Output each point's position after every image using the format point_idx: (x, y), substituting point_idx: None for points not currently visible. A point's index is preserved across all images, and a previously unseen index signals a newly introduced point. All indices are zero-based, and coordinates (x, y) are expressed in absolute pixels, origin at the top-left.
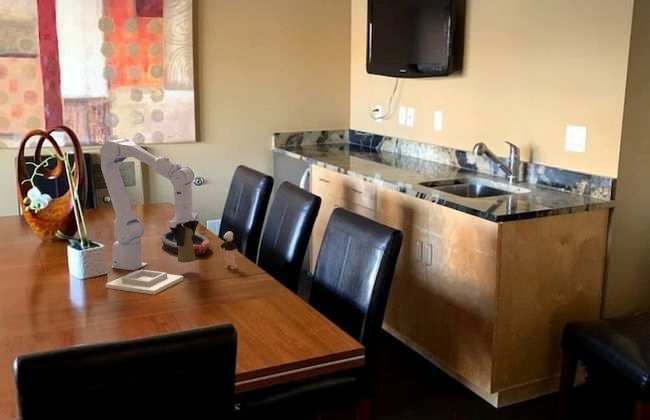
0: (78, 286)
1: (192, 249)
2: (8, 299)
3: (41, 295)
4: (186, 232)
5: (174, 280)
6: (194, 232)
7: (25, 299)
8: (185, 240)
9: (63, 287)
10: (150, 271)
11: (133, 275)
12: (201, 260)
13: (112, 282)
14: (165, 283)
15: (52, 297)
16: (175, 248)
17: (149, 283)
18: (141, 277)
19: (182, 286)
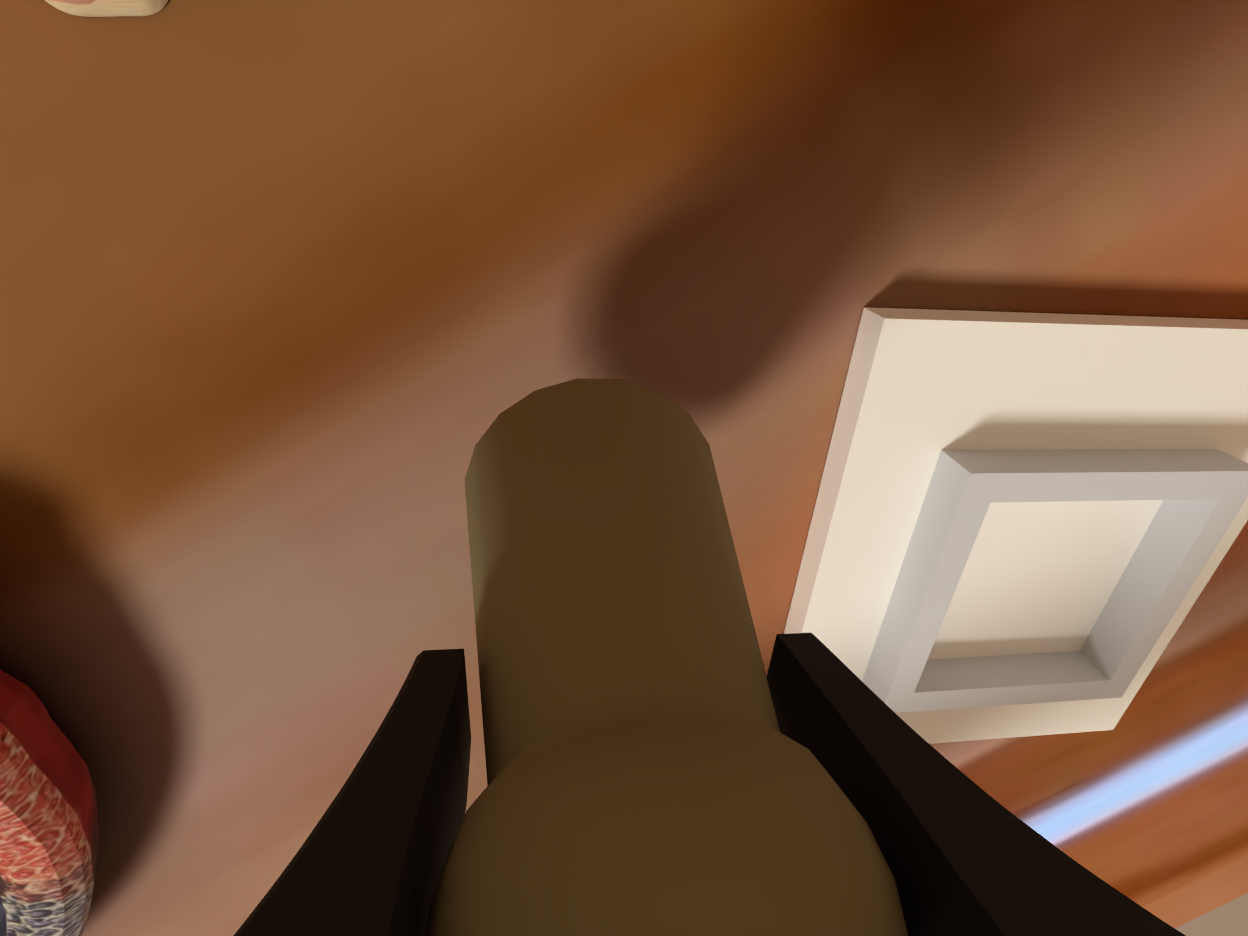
0: (1055, 820)
1: (612, 492)
2: (1227, 897)
3: (1192, 849)
4: (877, 915)
5: (1046, 323)
6: (327, 851)
7: (1242, 858)
8: (765, 709)
9: (1070, 856)
10: (932, 628)
11: (1021, 679)
12: (106, 511)
13: (1082, 717)
14: (1148, 354)
15: (1235, 802)
16: (93, 864)
17: (1231, 460)
18: (958, 632)
19: (1102, 181)
